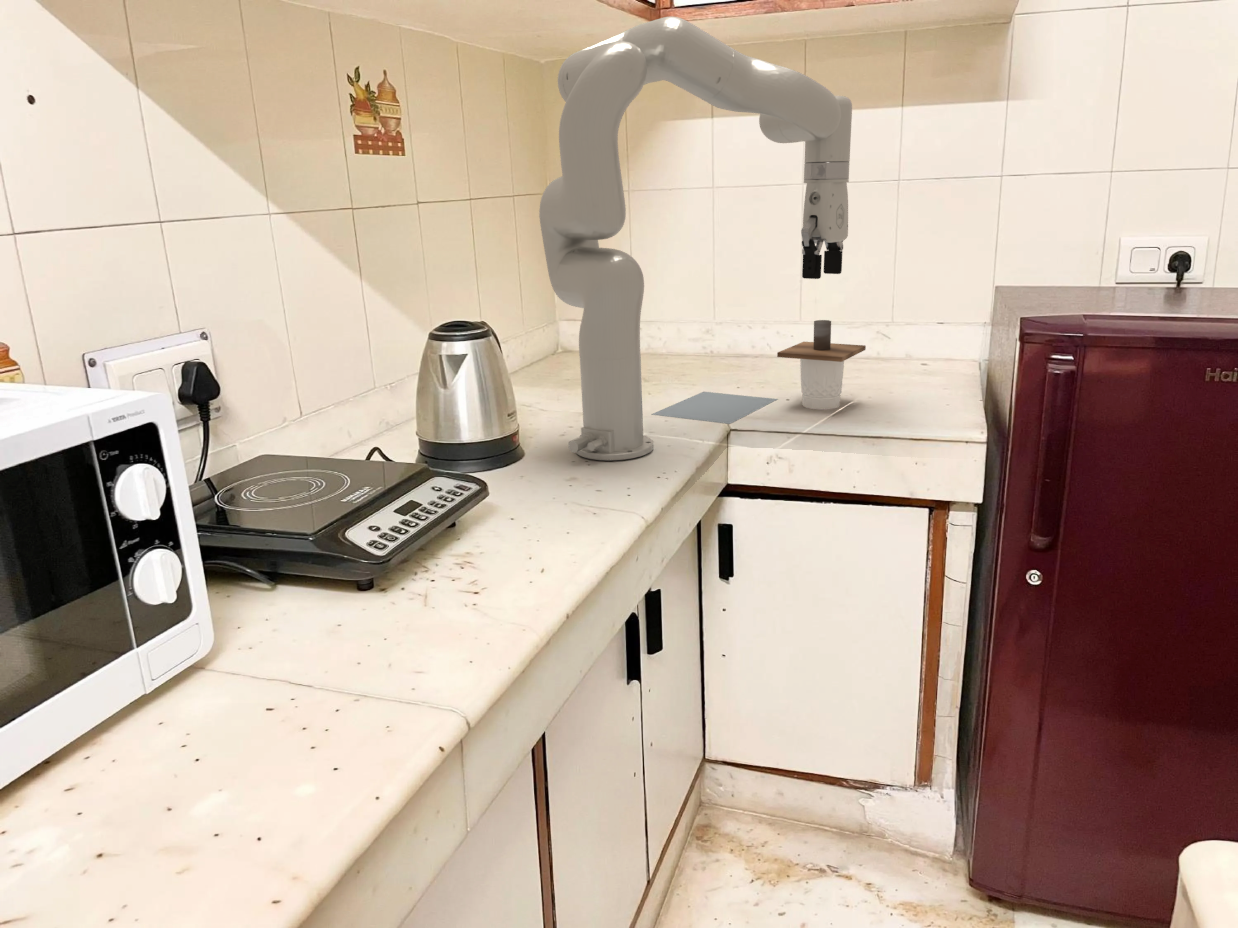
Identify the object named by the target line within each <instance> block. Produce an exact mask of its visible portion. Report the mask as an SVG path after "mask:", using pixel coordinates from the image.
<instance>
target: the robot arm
mask: <svg viewBox="0 0 1238 928" xmlns="http://www.w3.org/2000/svg"><path fill="white" fill-rule="evenodd" d="M661 81H665V82H669V83H671V84H673V85H675V86H677V87H678V88H680V89H682V90H684V91H686V92H688V93H690V95H691V94H692V95H693V96H695V97H696V98H698V99H701V100H702V101H704V102H706V104H707V103H708V104H710V105H711V106H713V107H714V108H717V109H720V110H726V111H729V112H730V111H731V112H735V113H736V112H737V113H748V114H759V118H758V119H759V120H758V123H759V128H760V130H761V132H762V134H763V135H764V137H766V139H768V140H770V141H771V142H774V143H777V144H792V143H793V144H794V143H801V142H805V143H804V164H803V165H804V166H803V184H806V186H805V192H804V194H805V195H804V201H803V202H804V204H803V214H802V217H803V218H802V228H801V230H800V232H801V239H802V241H801V247H802V250H801V254H802V270H801V271H802V274H801V276H802V277H801V278H802V279H807V280H808V279H809V280H810V279H812V280H818V279H821V278H822V260H823V274H827V275H831V274H833V275H840V274H842V270H843V269H842V268H843V250H844V242H845V240H846V239H847V238H848V236H849V192H848V184H847V183H849V181H850V161H851V158H850V157H851V137H852V119H853V103H852V101H851V99H850V98H849V97H847V96H843V95H835V94H834V93H833V92H832V91H831V90H829V89H828V88H827V87H826V86H824V85H823V84H821V83H819V82H817V81H816V80H814V79H813V78H811V77H809V76H807V75H806V74H804V73H802V72H799V71H796V70H794V69H792V68H788V67H786V66H782V65H778V64H776V63H772V62H768V61H766V60H763V59H760V58H756V57H753V56H749V55H746V54H744V53H741V52H740V51H739V50H736V49H735V48H733V47H731V46H730V45H728V44H726V43H725V42H722V41H721V40H719V39H718V38H716V37H715V36H713V35H711V34H710V33H709V32H706V31H705V30H703V29H701V28H700V27H698V26H696V25H694V24H693V23H691V22H690V21H688V20H686V19H683V18H681V17H678V16H672V15H671V16H664V17H661V18H658V19H657V18H656V19H654V20H650V21H647V22H644V23H640V24H638V25H635V26H633V27H631V28H628V29H627V30H625V31H623V32H622V31H621V32H620V33H618V34H616V35H614V36H612V37H609V38H607V39H605V40H602V41H599V42H597V43H594V44H593V45H590V46H588V47H586V48H583V49H581V50H578V51H576V52H574V53H572V54H571V55H569V56H568V57H567V58H565V60H564V61H563V62H562V63H561V65H560V68H559V70H558V74H557V87H558V91H559V94H560V96H561V98H562V100H563V101H564V102H565V103H564V106H563V109H562V113H561V115H560V121H559V127H558V143H559V144H558V145H559V154H560V155H559V157H560V167H561V174H562V176H560V177H557V178H555V179H553V180H552V181H551V182H550V183H549V184H548V185H547V186H546V187H545V189H544V191H543V193H542V195H541V198H540V204H539V210H538V211H539V213H538V214H539V216H538V217H539V225H540V231H541V236H542V242H543V250H544V255H545V261H546V266H547V273H548V277H549V281H550V285H551V288H552V289H553V291H554V293H555V295H556V296H557V297H558V299H559V300H561V301H562V302H563V303H564V304H567V305H569V306H572V307H575V308H581V309H583V311H582V318H581V323H580V325H579V326H580V327H579V332H578V353H579V366H580V367H579V369H580V370H579V371H580V386H581V387H580V388H581V404H582V406H581V407H582V408H581V409H582V422H583V423H582V425H583V426H582V427H581V428H580V432H581V434H580V436H579V437H576V438H574V439H572V440H570V441H568V445H567V447H568V450H569V451H570V452H571V453H576V455H578V456H580V457H582V458H584V459H589V460H594V461H624V460H630V459H635V458H639V457H642V456H646V455H648V454H649V453H651V452H652V451H653V450H654V441H653V439H652V438H651V437H648V436H647V435H644V417H643V415H644V414H643V413H644V412H643V387H642V385H643V382H642V380H643V379H642V359H641V315H642V308H643V307H642V306H643V299H644V292H645V280H644V277H645V276H644V274H643V271H642V268H641V266H640V265H639V263H638V262H637V260H636V259H635V258H634V257H632V256H631V255H630V254H629V253H627V252H624V251H623V250H619V249H615V248H607V247H600V244H599V241H600V240H601V241H602V240H607V239H611V238H613V237H614V236H616V235H617V234H619V232H620V231H621V230H622V229H623V227H624V225H625V221H626V218H627V217H626V214H627V211H626V209H627V208H626V200H625V192H624V186H623V179H622V170H621V164H620V156H619V142H618V141H619V129H620V125H621V122H622V119H623V116H624V114H625V113H626V110H627V109H628V107H629V106H630V105H631V103H632V102H633V101H634V100H635V99H636V97H638V95H639V94H640V93H641V91H642V90H643V88H644V86H645V85H647V84H651V83H657V82H661ZM823 245H825V248H826V250H824V252H823V254H824V255H822V254H820V253H821V250H822V247H823ZM822 256H823V257H822ZM822 258H823V259H822Z"/></svg>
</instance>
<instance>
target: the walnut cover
mask: <svg viewBox="0 0 1238 928" xmlns="http://www.w3.org/2000/svg"><path fill="white" fill-rule="evenodd" d="M831 337H832V320H829V319H828V320H827V319H819V320H814V321H813V341H802V342H799V343H797V344H794V345H792V346H790V347H788V348H785V349H783V350H780V351H777V354H776V355H777V356H776V357H777V358H786V359H798V360H800V359H810V360H824V361H837V362H843V361H844V362H845V361H847V360H848V359H851V358H852V357H854V356H856V355H858V354H860V353H862V352H864V351H866V345H863V344H847V343H831V341H832V338H831Z"/></svg>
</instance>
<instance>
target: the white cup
mask: <svg viewBox="0 0 1238 928" xmlns="http://www.w3.org/2000/svg"><path fill="white" fill-rule="evenodd" d="M799 361H800V362H799V363H800V388H801V394H802V395H801V400H802V402H801V404H802V407H804V408H807V409H811V410H821V411H822V410H833V409H836V408H839V407H840V405H841V394H842V392H843V391H842V387H843V378H844V367H845V361H843V362H837V361H824V360H810V359H799Z"/></svg>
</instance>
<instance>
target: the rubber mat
mask: <svg viewBox="0 0 1238 928" xmlns="http://www.w3.org/2000/svg"><path fill="white" fill-rule="evenodd" d="M777 400H779V399H778V398H770V397H761V396H752V395H751V396H750V395H742V394H741V395H740V394H731V393H719V392H714V391H713V392H711V391H702V392H700V393H697V394H695V395H692V396H690V397H688V398H685V399H683V400H681V401H678V402H677V403H673V404H672V405H669V406H667V407H665V408H663V409H660V410H658V411H656V412H653V413H651V416H659V417H668V418H675V419H676V418H677V419H685V420H692V421H700V422H702V421H703V422H709V423H718V424H727V425H730V424H733V423H734V422H736V421H739V420H740V419H741V420H742V419H743V418H744V417H747V416H749V415H750V414H752V413H754V412H757V411H758V410H760V409H762V408H764V407H766V406H768V405H770V404H771V403H774V402H776V401H777Z"/></svg>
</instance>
